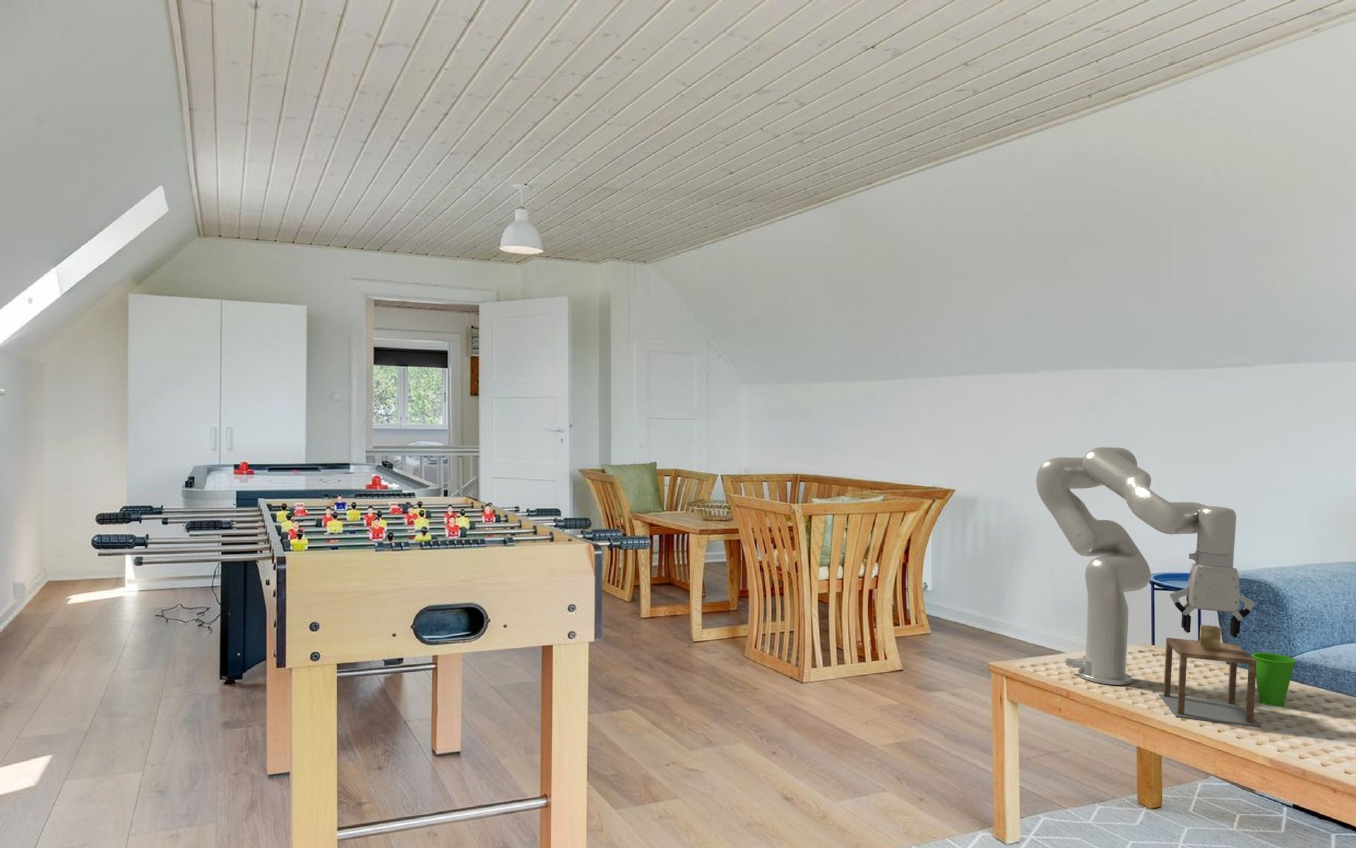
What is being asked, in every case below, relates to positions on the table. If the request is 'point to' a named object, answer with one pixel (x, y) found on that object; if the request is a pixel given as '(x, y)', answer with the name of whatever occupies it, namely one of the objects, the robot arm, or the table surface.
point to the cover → (1210, 650)
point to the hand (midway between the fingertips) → (1209, 633)
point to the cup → (1273, 677)
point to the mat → (1209, 710)
